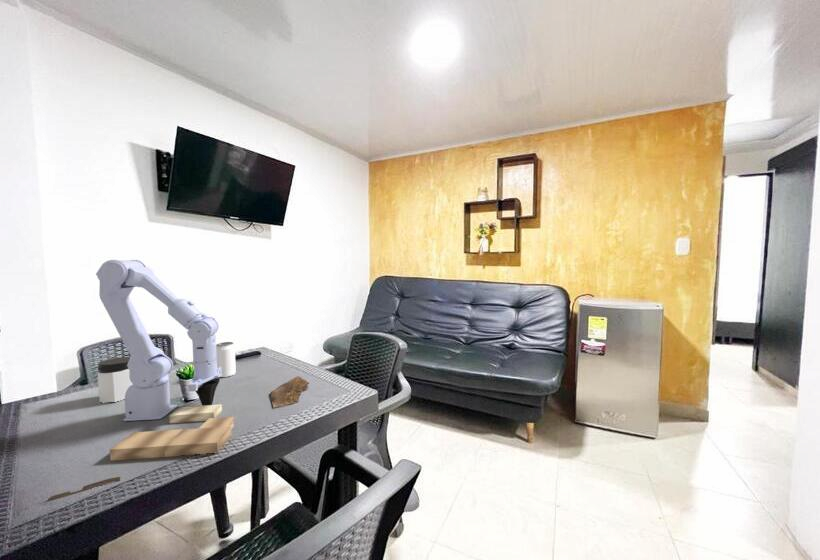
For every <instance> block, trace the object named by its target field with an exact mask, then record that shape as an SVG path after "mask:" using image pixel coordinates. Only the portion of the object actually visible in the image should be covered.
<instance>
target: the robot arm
mask: <svg viewBox="0 0 820 560" xmlns="http://www.w3.org/2000/svg"><path fill="white" fill-rule="evenodd" d="M95 275H96V277H97V279H98V281H99V292H98V293H99V295H98V296H99V299H100V300H101V303H102V305H103V306H104V309H105V310H106V312H107V314H108V316H109V318H110V319H111V321H112V323H113V326H114V327H115V329H116V331H117V333H118V335H119V336H120V339H121V340H122V342H123V344H124V346H125V348H126V349H127V351H128V353H129V355H130V356H129V357H130V359H129V362H128V364H127V367H128V368H129V371H130V375H129V378H130V381H131V382H132V384H133V385H131V386H130V387H129V388H128V389H127V391H126V393H125V400H124V406H125V407H124V408H125V412H124V413H125V418H124V419H123V421H124V422H130V421H131V422H133V421H148V420H150V421H151V420H161V419H163V418H164V417H165V416H167V415H168V414H169V413H170V412H172V411H174V410H175V409H176V408H178V407H179V405H178V404H171V393H170V392H171V390H170V375H169V374H170V373H171V372H172V370H173V369H174V363H173V360H172V359H171V358H170V357H169V356H167V355H166V354H165V353H164V351H163V349H161V348H159V347H156V346H155V345H154V343H153V341H152V339H151V337H150V335H149V333H148V331H147V328H146V327H145V326H144V323H143V322H142V319H141V318H140V316H139V314H138V312H137V310H136V309H135V306H134V304H133V302H132V301H131V298H130V294H131V293H132V291H133V289H134V288H136V287H137V288H142V289H144V290H145V291H147V292H148V293H149V294H151V295H152V296H153V297H155V298H156V299H157V300H158V301H160V302H161V303H162V304H163V305H165V306H166V307H167V314H168V315H169V316H171V317H172V318H173V319H174V320H175V321H177V322H178V323H179V325H181V326H182V327H183V328H184V329H186V334H187V336H188V338H189V339H191V341H192V362H193V365H192V366H193V377H192V379H191V380H190V383H188V384H187V390H188V393H189V392H195V393H196V395H197V396H198V398H199V401H200V403H201V406H204V405H213V403H214V397H215V394H216V390H217V387H218V385H219V383H220V381H221V380H220V379H221V378H219V377H220V376H222V373H221V367H217V354H216V345H217V343H216V342H217V341H216V340H217V339H216V333H217V332H218V330H219V323H218V321H217V320H216V319H215V318H214V317H213V316H208V315H207V313H205V312H204V313H203V312H202V311H201V310H200V309H198V308H197V306H195V302H194V301H193V300H188V299H187V298H183V299H182V298H179V297H178V296H177V295H176V293H174V292H173V291H172V290H171V289H170V288H169V287H168V286H167V285H166V284H165V283H164V282H163V281H162V280H161V279H160V278H159V277H158V276H157V275H156V274H155V273H154V271H153V269H152V268H150V267H149V266H147V265H146V264H145V263H144V262H143V261H141V260H138V259H130V260H125V259H124V260H121V259H120V260H119V259H109V260H107V261H105V262H103V263H102V264H101V266H100V267H99V269H98V270H97V272H96V273H95ZM187 330H188V331H187Z"/></svg>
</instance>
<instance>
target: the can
mask: <svg viewBox="0 0 820 560" xmlns="http://www.w3.org/2000/svg"><path fill="white" fill-rule="evenodd" d="M235 347H236V346H235V345H234V342H231V341H225V342H219V343H216V354H217V367H221V373H222V376H220V377H226V378H230V377H232V375H233V376H235V374H236V370H237V369H236V348H235ZM229 376H230V377H229Z"/></svg>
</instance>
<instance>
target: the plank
mask: <svg viewBox="0 0 820 560" xmlns="http://www.w3.org/2000/svg"><path fill="white" fill-rule="evenodd" d="M222 406H223V405H222V404H221V403H219V404H212V405H204V406H202V405H194V406H192V405H190V406H182V407H181V406H180V407H177V409H176V410H174V411H173V412H172V413H170V414H169V415H168V419H169V424H176V423H177V424H179V423H180V424H181V423H189V422H190V423H192V422H193V423H194V422H204V421H205V422H206V421H207V420H208V419H209V418H218V417H219V416H220V415H221V413H222V412H223V407H222Z"/></svg>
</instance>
